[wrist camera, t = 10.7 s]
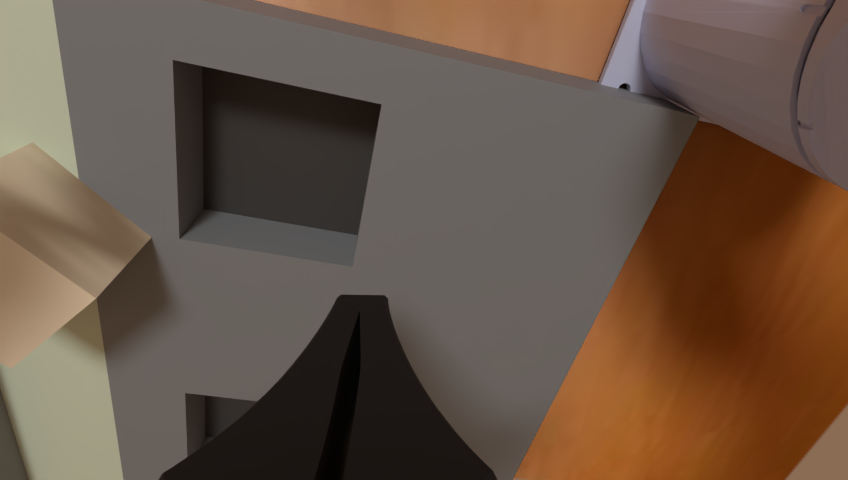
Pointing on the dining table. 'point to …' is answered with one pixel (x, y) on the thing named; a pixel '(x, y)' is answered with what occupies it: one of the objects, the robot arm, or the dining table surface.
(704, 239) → the dining table surface
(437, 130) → the board
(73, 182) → the birch block
